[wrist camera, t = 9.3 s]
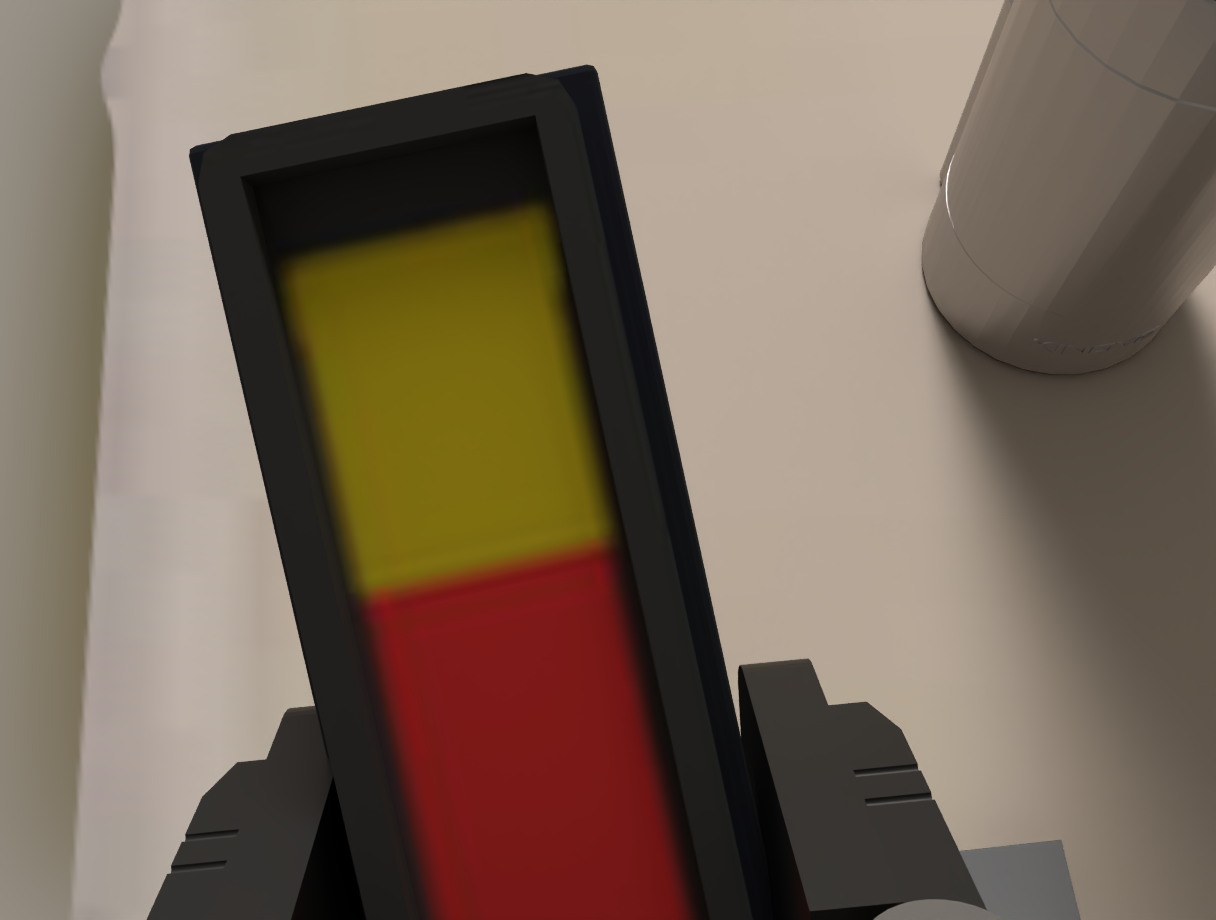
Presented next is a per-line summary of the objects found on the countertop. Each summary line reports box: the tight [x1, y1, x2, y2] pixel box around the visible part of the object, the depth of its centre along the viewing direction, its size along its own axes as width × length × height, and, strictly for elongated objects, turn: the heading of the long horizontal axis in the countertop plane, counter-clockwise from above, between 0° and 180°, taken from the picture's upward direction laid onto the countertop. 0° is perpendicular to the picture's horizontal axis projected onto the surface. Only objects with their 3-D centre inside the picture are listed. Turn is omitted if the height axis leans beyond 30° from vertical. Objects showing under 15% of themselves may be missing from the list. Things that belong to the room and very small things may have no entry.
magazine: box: [189, 65, 773, 920], centre depth 17 cm, size 4×13×15 cm, turn 12°
